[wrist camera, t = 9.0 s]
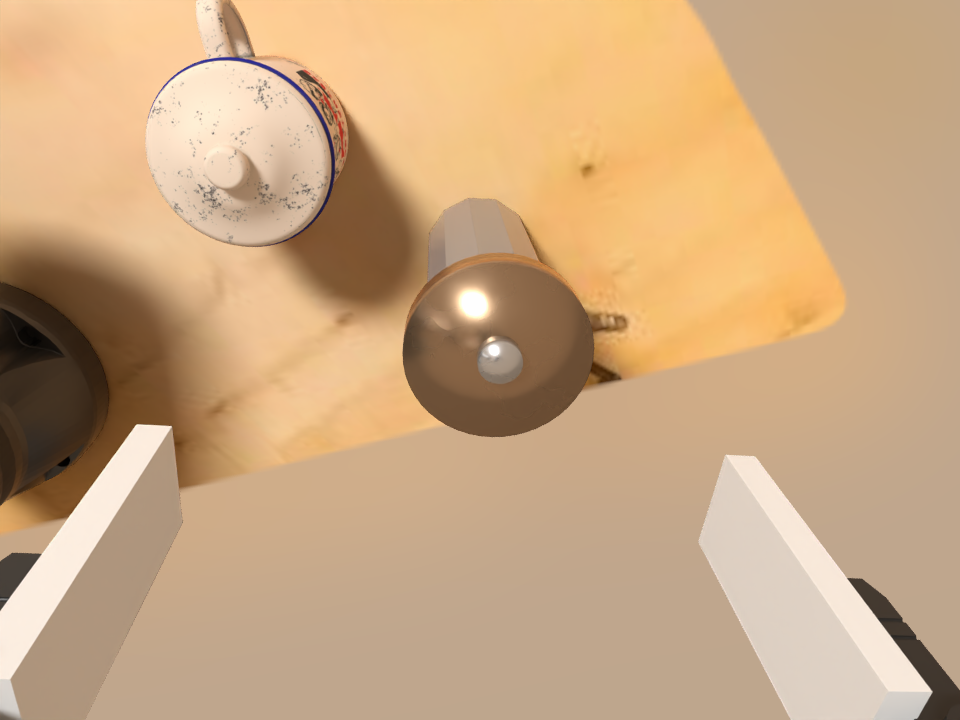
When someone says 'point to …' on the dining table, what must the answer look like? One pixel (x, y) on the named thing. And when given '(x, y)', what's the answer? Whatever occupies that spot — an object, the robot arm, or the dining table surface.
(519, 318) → the plunger
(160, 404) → the dining table surface
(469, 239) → the cylinder
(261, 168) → the teacup with lid
